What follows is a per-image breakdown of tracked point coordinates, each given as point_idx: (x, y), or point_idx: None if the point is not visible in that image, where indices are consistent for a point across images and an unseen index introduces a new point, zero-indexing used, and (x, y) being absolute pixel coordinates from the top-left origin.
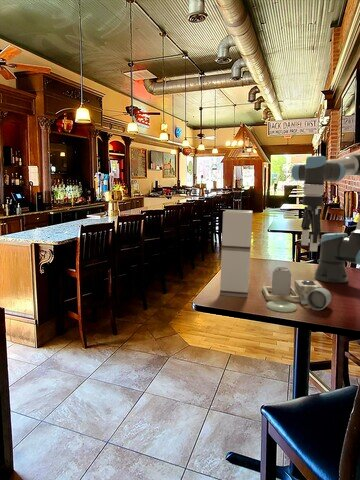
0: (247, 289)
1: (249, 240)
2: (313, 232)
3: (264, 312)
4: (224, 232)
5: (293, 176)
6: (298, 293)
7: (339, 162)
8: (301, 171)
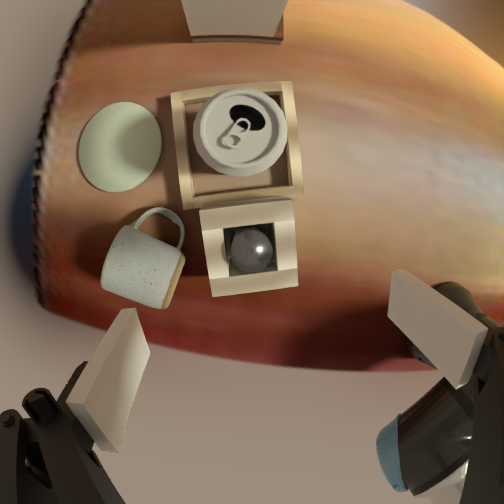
0: (189, 29)
1: None
2: (5, 413)
3: (71, 107)
4: None
5: None
6: (212, 204)
7: None
8: None
